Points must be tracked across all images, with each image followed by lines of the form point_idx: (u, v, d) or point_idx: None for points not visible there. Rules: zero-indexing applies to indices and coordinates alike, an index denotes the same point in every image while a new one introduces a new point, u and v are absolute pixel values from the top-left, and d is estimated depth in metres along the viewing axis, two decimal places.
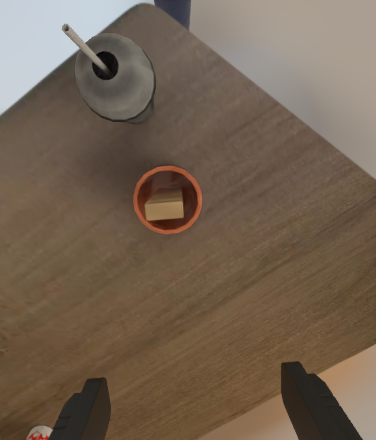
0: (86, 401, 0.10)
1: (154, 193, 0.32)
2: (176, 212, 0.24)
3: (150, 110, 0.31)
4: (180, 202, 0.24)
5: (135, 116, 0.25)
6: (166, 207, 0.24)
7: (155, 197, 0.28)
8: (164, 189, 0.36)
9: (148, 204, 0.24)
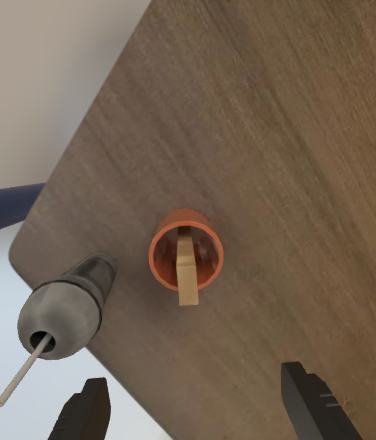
0: (86, 401, 0.10)
1: None
2: (189, 273, 0.21)
3: (97, 265, 0.31)
4: (177, 269, 0.21)
5: (94, 300, 0.24)
6: (183, 284, 0.21)
7: None
8: None
9: (180, 302, 0.22)
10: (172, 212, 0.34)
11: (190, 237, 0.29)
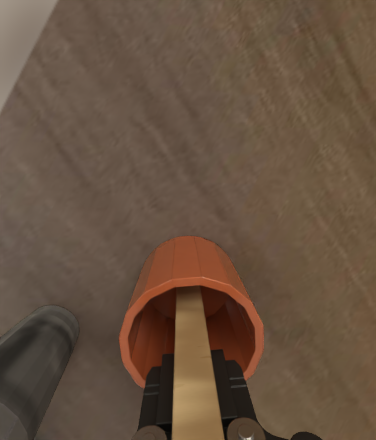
0: (169, 371, 0.11)
1: None
2: None
3: (34, 343, 0.17)
4: None
5: None
6: None
7: None
8: None
9: None
10: (167, 244, 0.20)
11: (199, 300, 0.16)
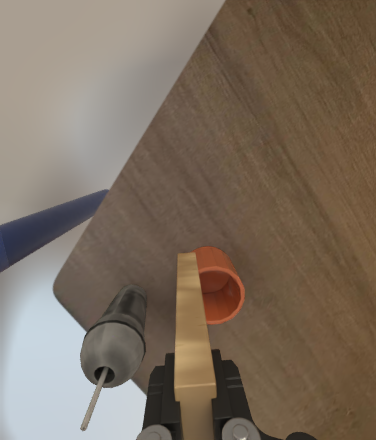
0: (172, 371, 0.11)
1: None
2: (202, 399, 0.10)
3: (134, 300, 0.36)
4: (177, 391, 0.10)
5: (140, 336, 0.29)
6: (189, 418, 0.10)
7: None
8: None
9: None
10: (196, 251, 0.39)
11: (197, 282, 0.18)
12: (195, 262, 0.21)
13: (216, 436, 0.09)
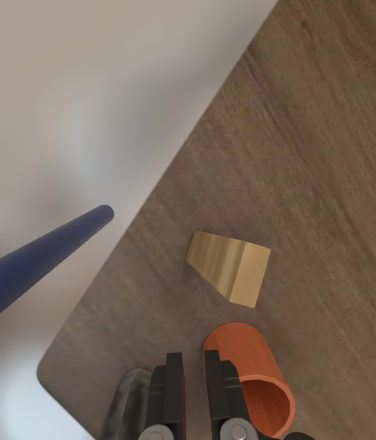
0: (174, 371, 0.11)
1: (196, 270, 0.23)
2: (259, 257, 0.15)
3: (143, 403, 0.27)
4: (247, 245, 0.14)
5: None
6: (246, 269, 0.14)
7: (211, 274, 0.18)
8: (190, 253, 0.27)
9: (231, 296, 0.14)
10: (223, 331, 0.30)
11: None
12: None
13: (214, 436, 0.09)
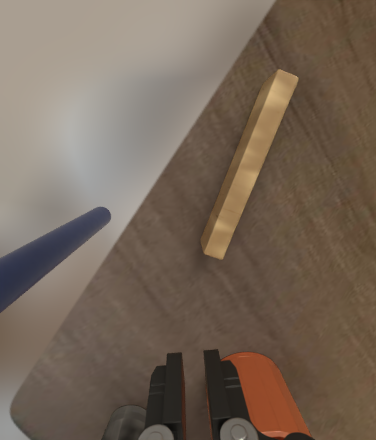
0: (174, 371, 0.11)
1: (230, 185, 0.19)
2: None
3: None
4: (264, 83, 0.21)
5: None
6: None
7: (251, 131, 0.19)
8: (208, 233, 0.21)
9: (277, 71, 0.18)
10: None
11: None
12: None
13: (214, 436, 0.09)
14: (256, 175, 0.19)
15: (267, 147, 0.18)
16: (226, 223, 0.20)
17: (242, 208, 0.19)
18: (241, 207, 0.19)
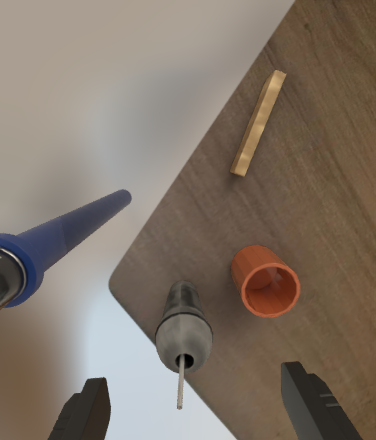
0: (86, 401, 0.10)
1: (249, 133, 0.35)
2: None
3: (192, 294, 0.38)
4: (267, 78, 0.37)
5: (209, 327, 0.32)
6: None
7: (260, 103, 0.35)
8: (236, 162, 0.37)
9: (274, 71, 0.34)
10: (247, 249, 0.41)
11: None
12: None
13: None
14: (263, 127, 0.35)
15: (269, 111, 0.34)
16: (246, 154, 0.36)
17: (255, 146, 0.35)
18: (255, 145, 0.35)
